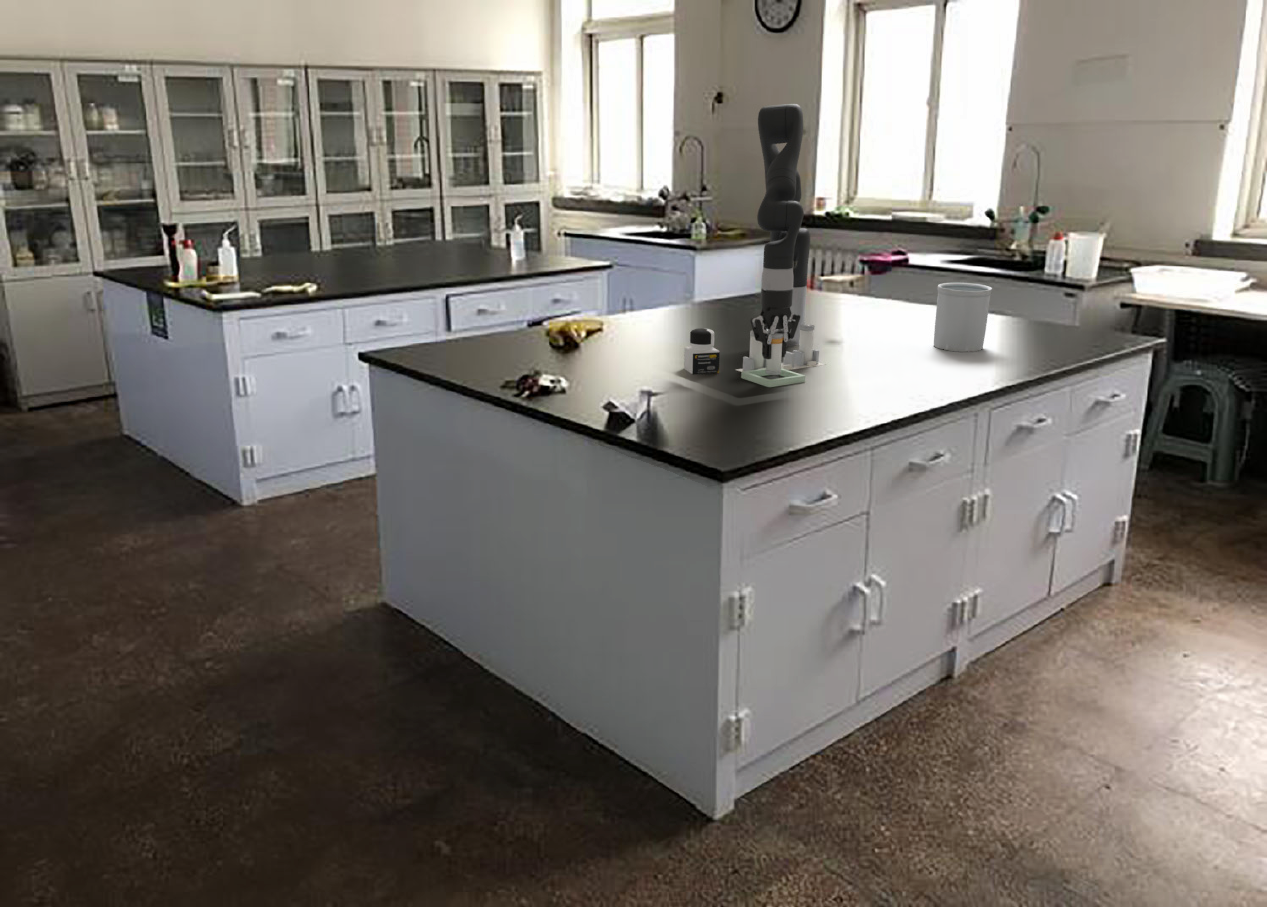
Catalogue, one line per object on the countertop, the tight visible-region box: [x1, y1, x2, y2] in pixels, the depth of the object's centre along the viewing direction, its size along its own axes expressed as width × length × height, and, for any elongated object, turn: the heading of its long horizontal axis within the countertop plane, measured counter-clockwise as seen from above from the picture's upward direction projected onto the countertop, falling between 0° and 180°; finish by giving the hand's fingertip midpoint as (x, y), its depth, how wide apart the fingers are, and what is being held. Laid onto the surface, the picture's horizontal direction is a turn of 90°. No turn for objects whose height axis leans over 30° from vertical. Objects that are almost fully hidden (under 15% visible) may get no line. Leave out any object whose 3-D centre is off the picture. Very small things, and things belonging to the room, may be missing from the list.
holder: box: [735, 348, 827, 372], centre depth 267 cm, size 7×24×5 cm, turn 121°
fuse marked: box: [766, 332, 783, 376], centre depth 252 cm, size 4×4×10 cm
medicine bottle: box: [683, 327, 721, 375], centre depth 262 cm, size 7×7×12 cm
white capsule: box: [798, 323, 815, 365], centre depth 270 cm, size 4×4×10 cm
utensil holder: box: [933, 282, 993, 353], centre depth 297 cm, size 15×15×18 cm
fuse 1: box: [749, 329, 764, 370], centre depth 262 cm, size 4×4×10 cm
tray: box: [740, 368, 806, 388], centre depth 254 cm, size 11×11×3 cm
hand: (773, 357), depth 252 cm, fingers closed on fuse marked, 3 cm apart
